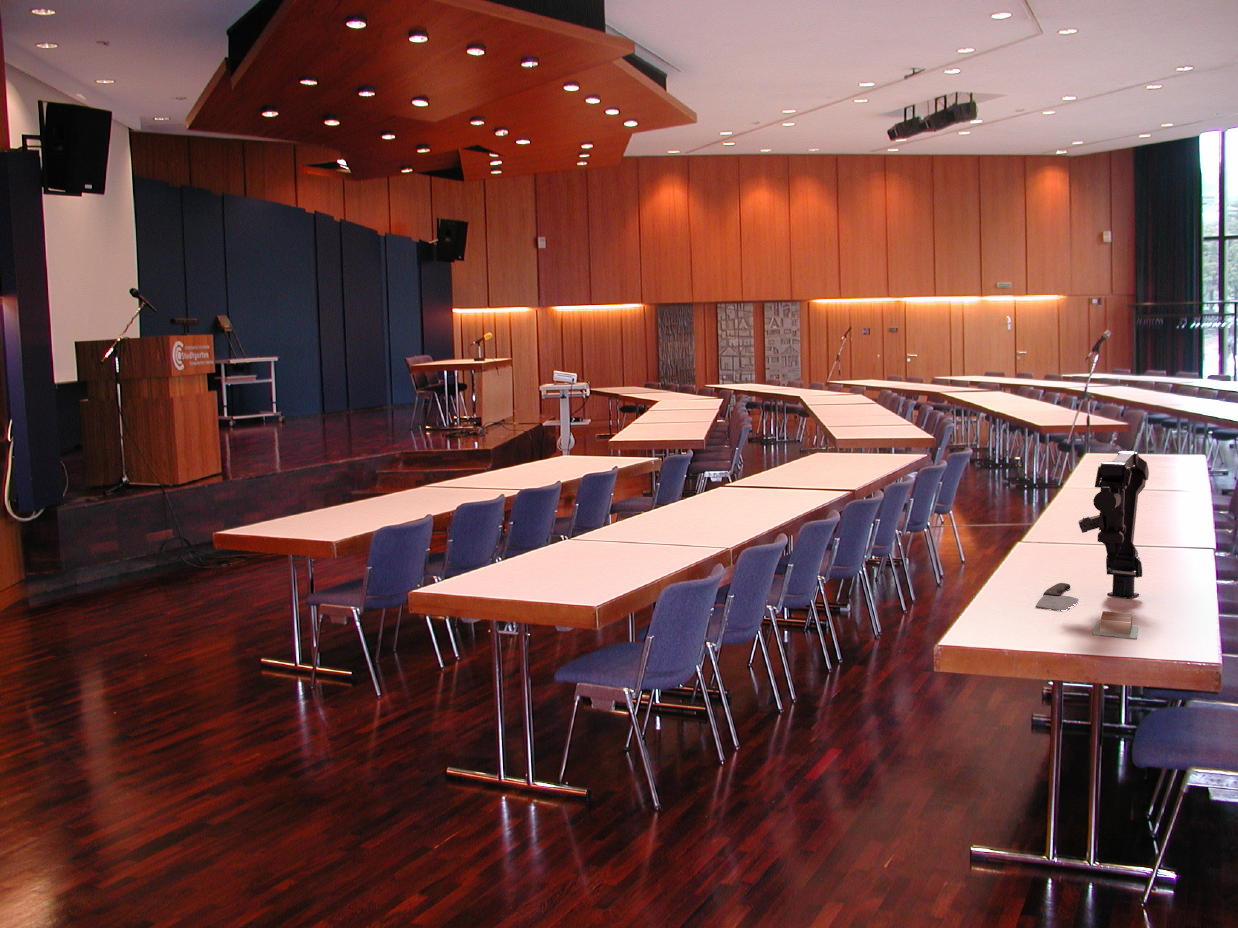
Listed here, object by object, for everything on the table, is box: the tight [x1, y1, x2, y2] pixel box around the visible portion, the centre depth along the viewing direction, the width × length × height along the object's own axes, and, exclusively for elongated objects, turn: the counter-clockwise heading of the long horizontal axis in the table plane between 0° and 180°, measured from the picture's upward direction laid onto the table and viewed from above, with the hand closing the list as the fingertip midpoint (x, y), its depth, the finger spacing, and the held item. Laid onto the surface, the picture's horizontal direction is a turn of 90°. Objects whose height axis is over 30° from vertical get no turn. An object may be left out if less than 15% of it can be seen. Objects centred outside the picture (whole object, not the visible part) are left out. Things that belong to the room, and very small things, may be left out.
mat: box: [1092, 621, 1139, 640], centre depth 268 cm, size 12×10×1 cm
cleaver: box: [1035, 582, 1079, 612], centre depth 302 cm, size 29×10×2 cm, turn 148°
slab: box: [1099, 610, 1133, 634], centre depth 270 cm, size 3×7×10 cm
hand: (1111, 562), depth 289 cm, fingers closed
